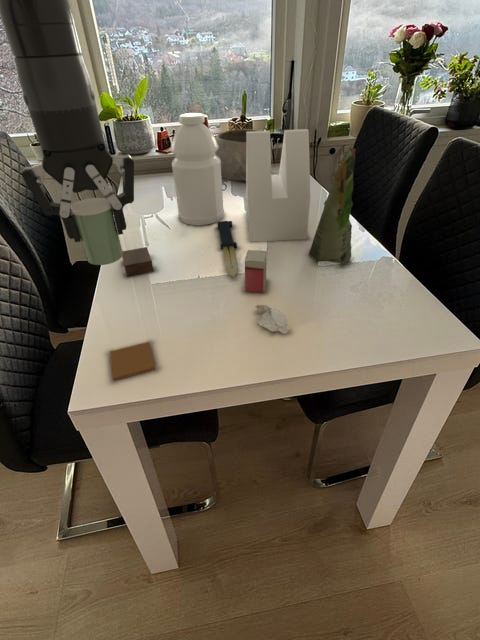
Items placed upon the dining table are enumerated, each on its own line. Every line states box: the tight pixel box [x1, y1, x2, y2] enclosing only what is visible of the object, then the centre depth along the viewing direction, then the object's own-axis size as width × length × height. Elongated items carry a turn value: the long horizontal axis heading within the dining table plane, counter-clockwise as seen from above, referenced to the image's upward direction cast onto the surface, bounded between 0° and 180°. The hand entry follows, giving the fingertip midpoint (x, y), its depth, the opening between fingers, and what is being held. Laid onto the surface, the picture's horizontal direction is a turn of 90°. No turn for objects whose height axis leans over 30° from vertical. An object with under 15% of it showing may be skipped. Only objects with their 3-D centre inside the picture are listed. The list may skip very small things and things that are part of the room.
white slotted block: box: [245, 128, 311, 242], centre depth 101 cm, size 19×15×25 cm
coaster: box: [109, 341, 156, 381], centre depth 66 cm, size 7×7×1 cm
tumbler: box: [70, 197, 123, 266], centre depth 54 cm, size 6×6×8 cm
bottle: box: [170, 112, 225, 226], centre depth 107 cm, size 14×14×28 cm
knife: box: [216, 220, 239, 279], centre depth 97 cm, size 4×2×30 cm
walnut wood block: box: [121, 246, 155, 277], centre depth 91 cm, size 6×8×3 cm
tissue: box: [254, 304, 289, 334], centre depth 72 cm, size 6×8×4 cm
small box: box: [244, 249, 268, 294], centre depth 81 cm, size 5×4×8 cm
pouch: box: [308, 146, 357, 266], centre depth 85 cm, size 11×12×25 cm
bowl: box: [215, 128, 274, 182], centre depth 141 cm, size 23×23×15 cm
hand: (99, 235), depth 54 cm, fingers closed on tumbler, 5 cm apart
